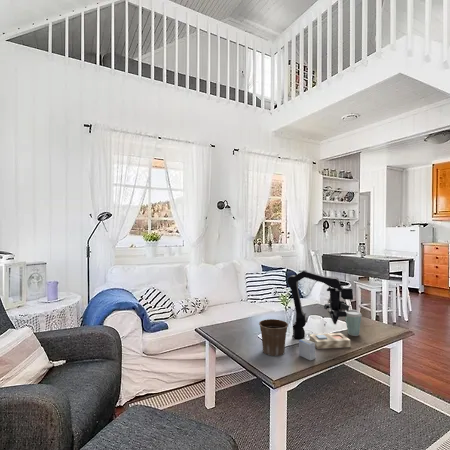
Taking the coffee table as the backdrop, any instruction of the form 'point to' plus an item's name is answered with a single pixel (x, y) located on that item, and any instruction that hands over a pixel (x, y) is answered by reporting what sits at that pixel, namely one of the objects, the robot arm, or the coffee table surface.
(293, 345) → the coffee table surface
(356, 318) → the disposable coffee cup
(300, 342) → the medicine box
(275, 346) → the plant pot
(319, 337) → the blue grey key
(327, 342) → the key console
